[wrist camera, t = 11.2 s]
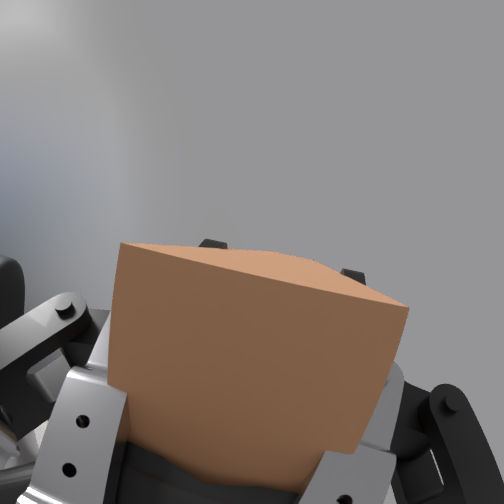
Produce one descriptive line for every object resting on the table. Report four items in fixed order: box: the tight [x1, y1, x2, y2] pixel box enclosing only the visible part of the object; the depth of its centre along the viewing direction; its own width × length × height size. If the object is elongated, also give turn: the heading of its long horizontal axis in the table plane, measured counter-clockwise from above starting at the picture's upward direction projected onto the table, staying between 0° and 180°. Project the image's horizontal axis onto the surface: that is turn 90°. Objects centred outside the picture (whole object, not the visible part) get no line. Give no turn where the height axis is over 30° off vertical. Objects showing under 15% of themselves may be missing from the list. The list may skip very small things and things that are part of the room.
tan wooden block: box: [107, 243, 409, 493], centre depth 15 cm, size 4×24×4 cm, turn 171°
